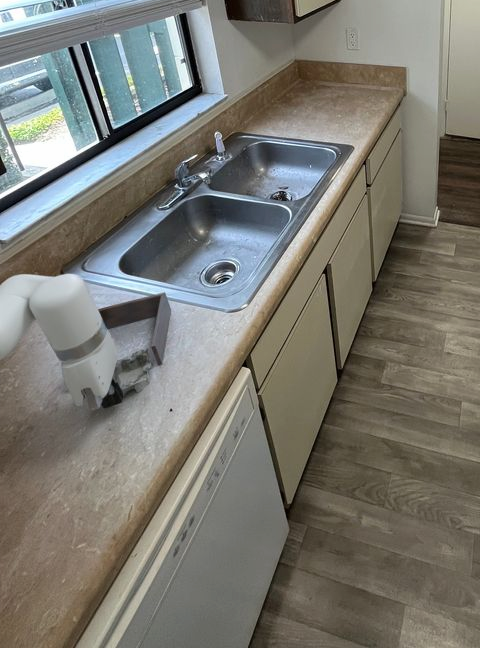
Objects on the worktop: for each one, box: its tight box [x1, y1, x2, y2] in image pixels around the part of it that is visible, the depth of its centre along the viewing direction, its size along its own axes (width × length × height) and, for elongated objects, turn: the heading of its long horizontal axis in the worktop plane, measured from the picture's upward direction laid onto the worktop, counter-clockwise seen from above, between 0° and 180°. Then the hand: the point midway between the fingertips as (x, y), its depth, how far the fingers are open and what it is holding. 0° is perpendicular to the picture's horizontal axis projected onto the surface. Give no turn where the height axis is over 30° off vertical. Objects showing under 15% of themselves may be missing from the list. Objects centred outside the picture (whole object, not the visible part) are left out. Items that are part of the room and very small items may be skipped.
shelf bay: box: [98, 291, 172, 366], centre depth 96 cm, size 15×15×6 cm
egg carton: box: [115, 348, 153, 397], centre depth 89 cm, size 11×8×4 cm
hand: (113, 401), depth 84 cm, fingers closed
